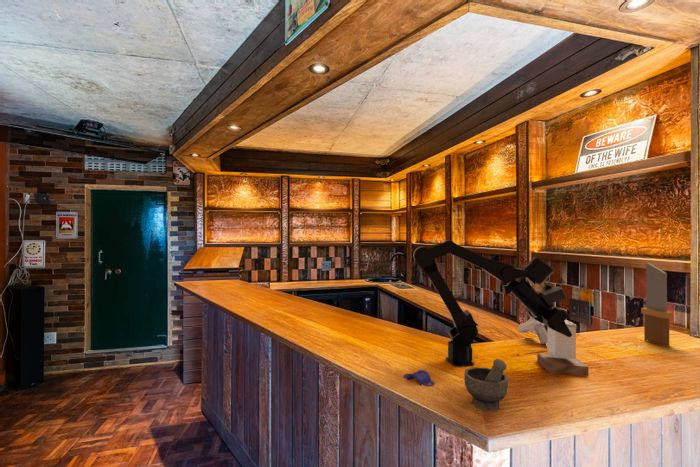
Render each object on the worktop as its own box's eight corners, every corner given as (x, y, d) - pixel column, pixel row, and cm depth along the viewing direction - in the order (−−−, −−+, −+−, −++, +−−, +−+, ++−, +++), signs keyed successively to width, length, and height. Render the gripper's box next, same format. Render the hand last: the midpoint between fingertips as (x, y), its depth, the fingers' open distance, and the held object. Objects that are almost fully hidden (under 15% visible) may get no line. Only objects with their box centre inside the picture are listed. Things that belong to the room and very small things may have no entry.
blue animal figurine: (438, 385, 93) (438, 375, 93) (428, 390, 90) (428, 380, 90) (410, 374, 100) (410, 365, 100) (399, 379, 97) (399, 369, 97)
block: (550, 374, 100) (550, 364, 100) (537, 362, 110) (537, 353, 110) (588, 377, 99) (588, 366, 99) (571, 364, 109) (571, 354, 109)
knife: (641, 339, 135) (641, 262, 135) (649, 339, 135) (649, 262, 136) (664, 346, 126) (663, 264, 127) (672, 346, 127) (672, 264, 127)
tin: (555, 357, 102) (555, 323, 102) (546, 351, 108) (547, 319, 108) (576, 359, 101) (576, 324, 102) (566, 352, 107) (567, 320, 107)
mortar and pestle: (456, 397, 85) (456, 347, 85) (490, 393, 87) (490, 345, 87) (484, 420, 74) (484, 364, 74) (522, 415, 76) (522, 360, 76)
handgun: (554, 342, 124) (549, 312, 129) (543, 341, 124) (538, 311, 129) (527, 350, 142) (524, 323, 147) (518, 349, 142) (514, 322, 147)
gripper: (561, 281, 96) (605, 322, 95) (535, 274, 115) (571, 309, 113) (531, 308, 97) (573, 350, 96) (510, 297, 116) (545, 332, 114)
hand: (566, 333), depth 105 cm, fingers closed on tin, 5 cm apart
